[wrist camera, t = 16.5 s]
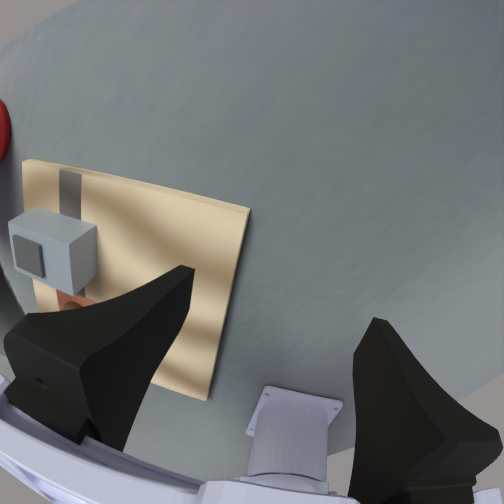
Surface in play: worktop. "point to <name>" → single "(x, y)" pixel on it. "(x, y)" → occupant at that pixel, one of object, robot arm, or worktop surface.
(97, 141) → the worktop surface
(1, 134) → the canned food
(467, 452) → the robot arm
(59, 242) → the block
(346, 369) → the worktop surface
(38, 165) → the board
